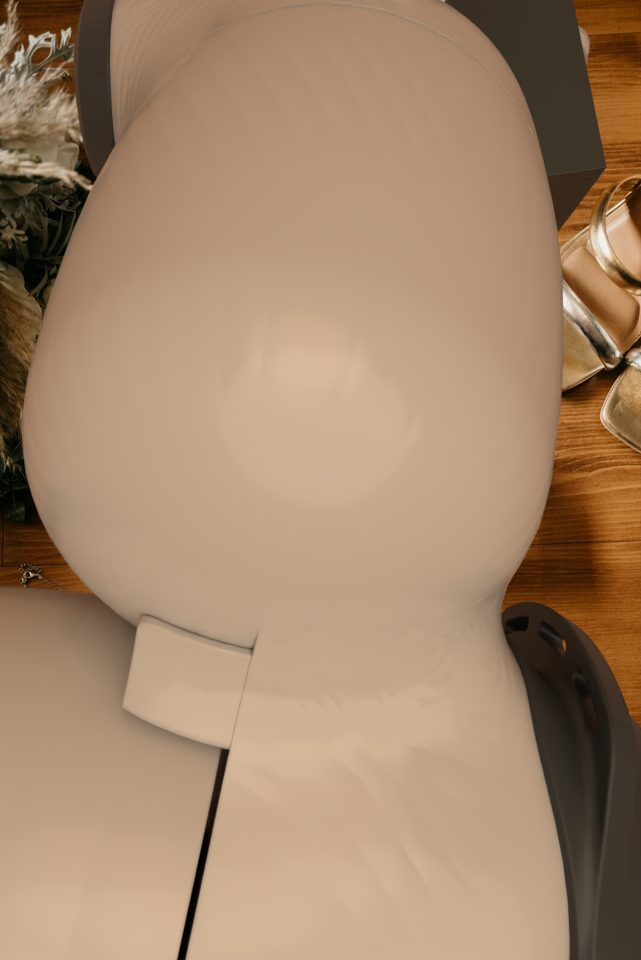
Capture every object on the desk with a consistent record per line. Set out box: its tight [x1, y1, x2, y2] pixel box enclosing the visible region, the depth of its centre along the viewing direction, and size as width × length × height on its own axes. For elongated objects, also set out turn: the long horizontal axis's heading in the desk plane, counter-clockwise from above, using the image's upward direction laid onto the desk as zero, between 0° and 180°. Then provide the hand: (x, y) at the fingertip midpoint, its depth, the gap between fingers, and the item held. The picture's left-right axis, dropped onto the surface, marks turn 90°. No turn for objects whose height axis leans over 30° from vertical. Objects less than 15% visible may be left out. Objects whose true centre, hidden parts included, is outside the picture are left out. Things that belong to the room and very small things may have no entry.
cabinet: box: [482, 0, 607, 232], centre depth 68 cm, size 10×16×30 cm, turn 9°
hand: (367, 102), depth 59 cm, fingers closed
